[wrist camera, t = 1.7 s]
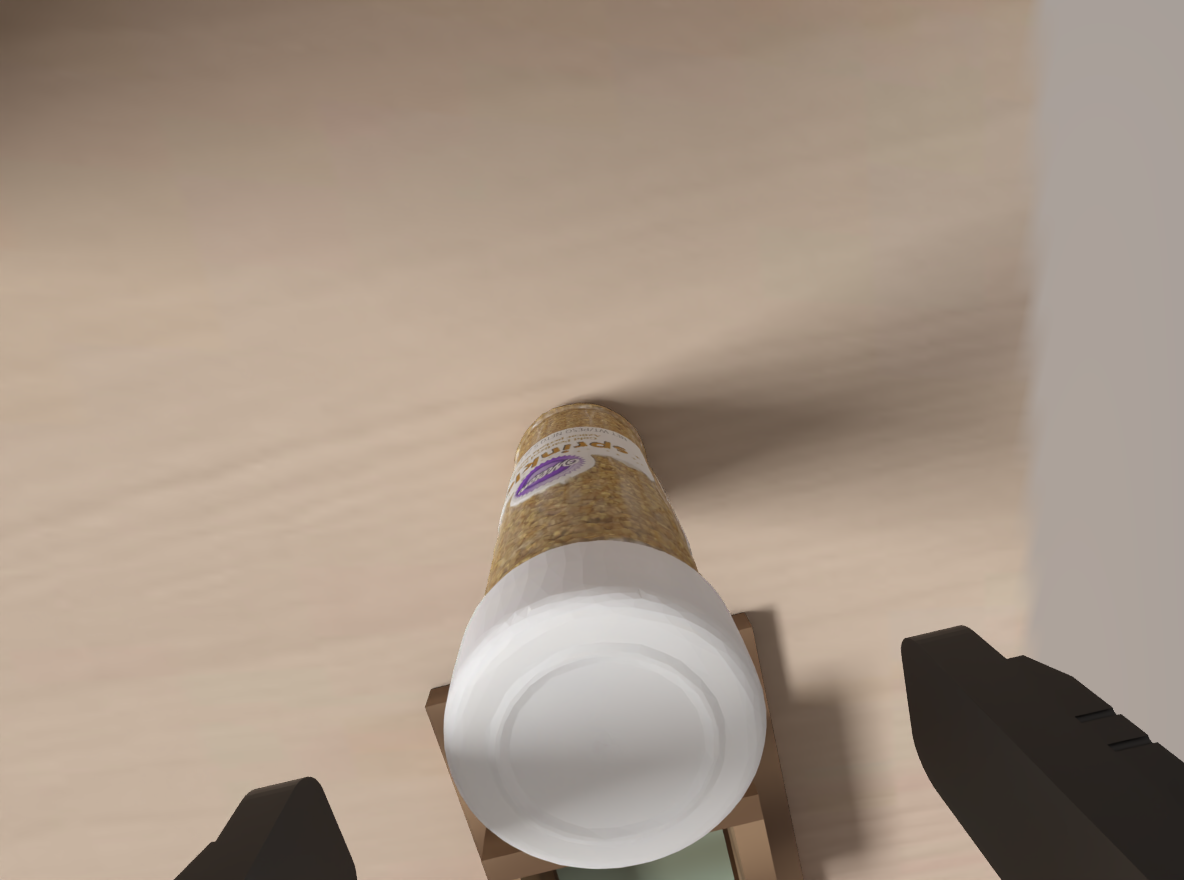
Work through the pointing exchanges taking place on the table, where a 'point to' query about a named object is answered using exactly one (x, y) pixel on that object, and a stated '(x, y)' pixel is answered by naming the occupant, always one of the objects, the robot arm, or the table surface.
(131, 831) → the table surface
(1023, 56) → the table surface
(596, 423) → the sprinkles bottle
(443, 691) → the wooden square holder
